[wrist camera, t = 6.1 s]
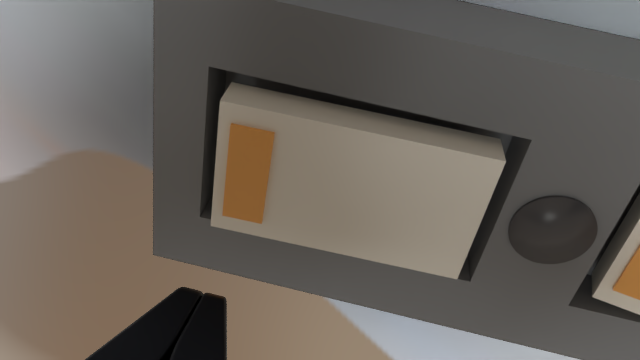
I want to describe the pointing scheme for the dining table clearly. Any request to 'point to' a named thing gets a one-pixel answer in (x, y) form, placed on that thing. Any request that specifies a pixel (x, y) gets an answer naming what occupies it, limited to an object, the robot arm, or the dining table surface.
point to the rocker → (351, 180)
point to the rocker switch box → (432, 108)
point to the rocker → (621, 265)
